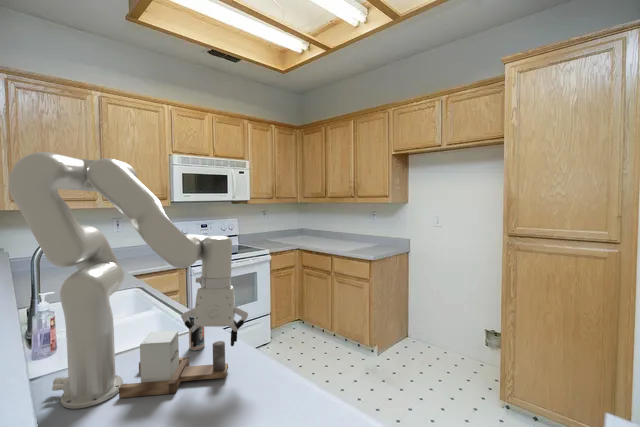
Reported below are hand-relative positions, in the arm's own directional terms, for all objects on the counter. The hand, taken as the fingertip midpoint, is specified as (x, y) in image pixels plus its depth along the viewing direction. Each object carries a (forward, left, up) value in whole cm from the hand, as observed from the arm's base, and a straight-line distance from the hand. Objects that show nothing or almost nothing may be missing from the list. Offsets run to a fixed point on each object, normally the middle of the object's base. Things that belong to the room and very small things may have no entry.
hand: (214, 344), depth 86 cm
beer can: (-9, +18, -9) cm, 22 cm away
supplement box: (-14, -1, -9) cm, 16 cm away
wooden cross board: (-9, 0, -9) cm, 13 cm away
